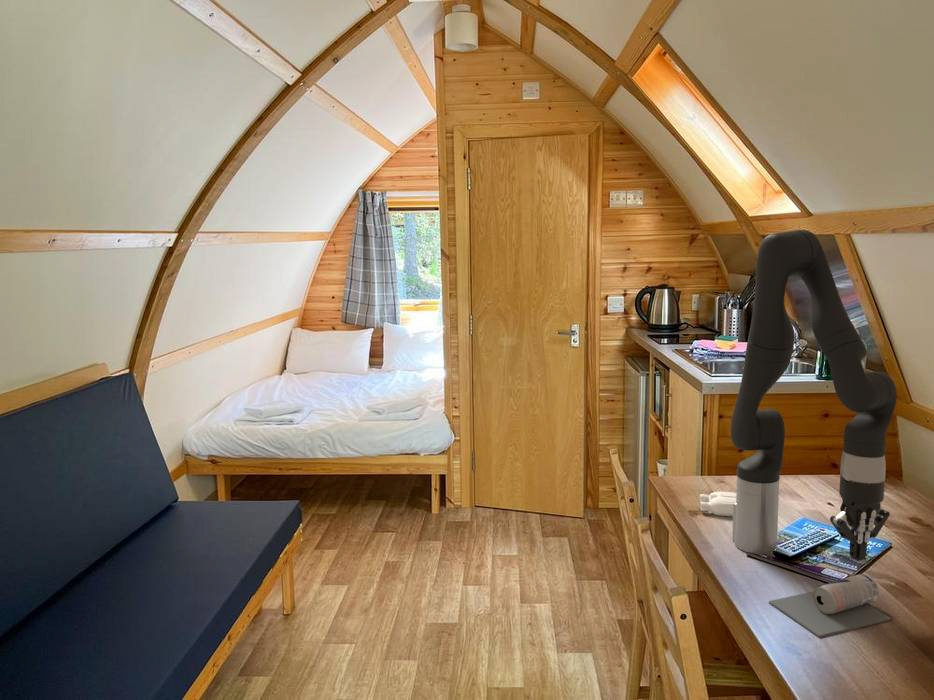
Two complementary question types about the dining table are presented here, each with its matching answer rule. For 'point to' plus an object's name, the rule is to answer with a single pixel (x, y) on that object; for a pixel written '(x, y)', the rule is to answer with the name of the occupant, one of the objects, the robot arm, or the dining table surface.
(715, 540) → the dining table surface
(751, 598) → the dining table surface
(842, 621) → the rubber mat
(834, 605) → the energy drink
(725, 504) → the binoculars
